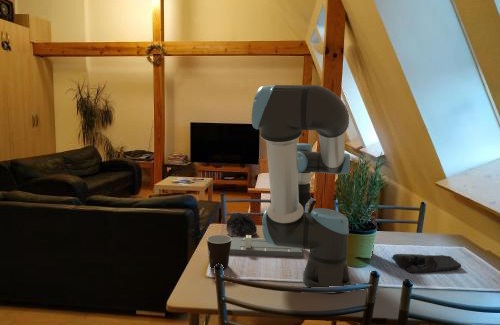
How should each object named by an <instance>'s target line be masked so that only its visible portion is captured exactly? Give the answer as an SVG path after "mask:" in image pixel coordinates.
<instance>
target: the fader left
mask: <svg viewBox="0 0 500 325" xmlns="http://www.w3.org/2000/svg"><path fill="white" fill-rule="evenodd" d="M245 238H246V247H245V248H251V238H252V236H251V235H246V237H245Z"/></svg>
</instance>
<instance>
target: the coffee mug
mask: <svg viewBox="0 0 500 325" xmlns="http://www.w3.org/2000/svg"><path fill="white" fill-rule="evenodd" d="M231 240H232V236H229V235H228V234H227V235H225V234H214V235H213V234H212V235H210V236H207V238H206V243H207V252H208V253H207V254H208V261H209V262H208V263H209V267H211V268H210V269H212V268H214V266H215V265H216V264H218V263H219V264H222V265H223V267H224V269H223V270H226V269H227V268H228V267H229V261H230V255H231V254H230V247H231Z"/></svg>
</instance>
